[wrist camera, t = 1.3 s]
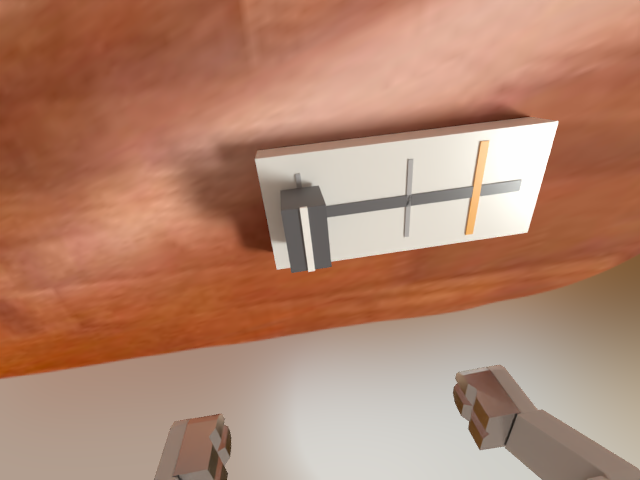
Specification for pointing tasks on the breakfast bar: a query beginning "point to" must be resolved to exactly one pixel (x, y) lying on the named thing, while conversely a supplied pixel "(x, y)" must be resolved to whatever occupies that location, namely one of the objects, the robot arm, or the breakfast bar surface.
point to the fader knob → (305, 228)
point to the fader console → (413, 185)
